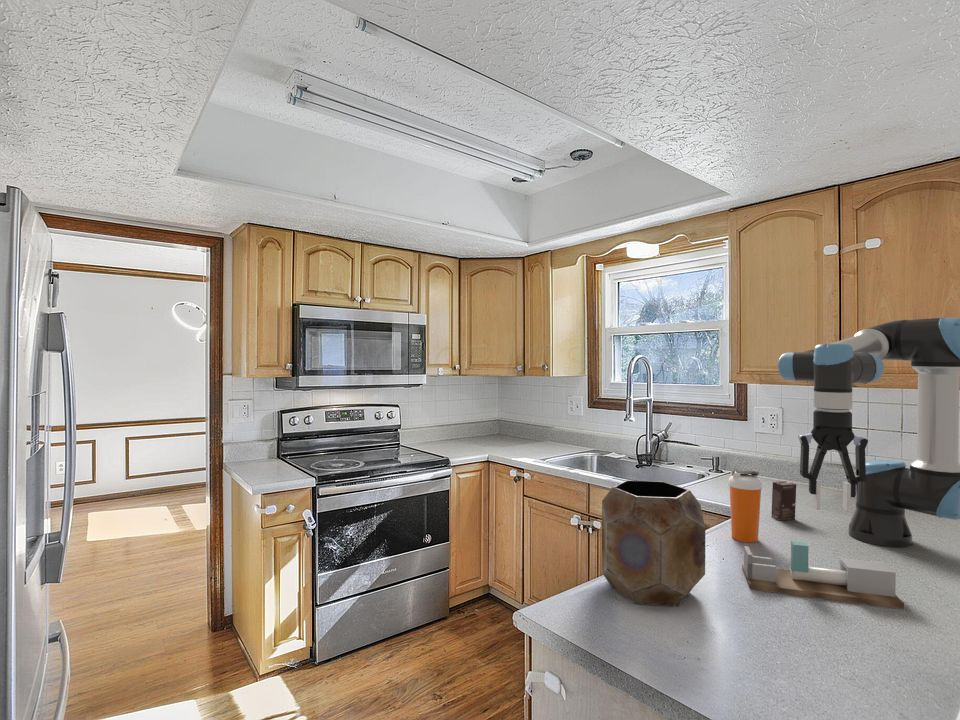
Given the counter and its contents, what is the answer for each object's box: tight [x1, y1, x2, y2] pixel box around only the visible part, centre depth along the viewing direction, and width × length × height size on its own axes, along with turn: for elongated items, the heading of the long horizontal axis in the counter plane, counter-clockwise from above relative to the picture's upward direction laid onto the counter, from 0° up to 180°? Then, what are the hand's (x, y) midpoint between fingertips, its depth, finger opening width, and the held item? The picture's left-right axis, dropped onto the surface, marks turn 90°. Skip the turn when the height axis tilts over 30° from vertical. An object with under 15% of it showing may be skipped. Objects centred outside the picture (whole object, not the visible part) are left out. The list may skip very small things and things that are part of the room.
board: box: [741, 564, 905, 610], centre depth 124 cm, size 30×12×1 cm, turn 71°
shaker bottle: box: [728, 469, 763, 543], centre depth 157 cm, size 9×9×20 cm
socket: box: [743, 545, 777, 582], centre depth 128 cm, size 6×6×6 cm
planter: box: [601, 480, 706, 607], centre depth 123 cm, size 22×24×24 cm
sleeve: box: [839, 557, 897, 597], centre depth 121 cm, size 9×6×5 cm, turn 71°
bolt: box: [790, 540, 847, 586], centre depth 123 cm, size 20×3×9 cm, turn 71°
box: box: [771, 480, 797, 521], centre depth 176 cm, size 6×4×12 cm
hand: (831, 509), depth 123 cm, fingers open, 5 cm apart
